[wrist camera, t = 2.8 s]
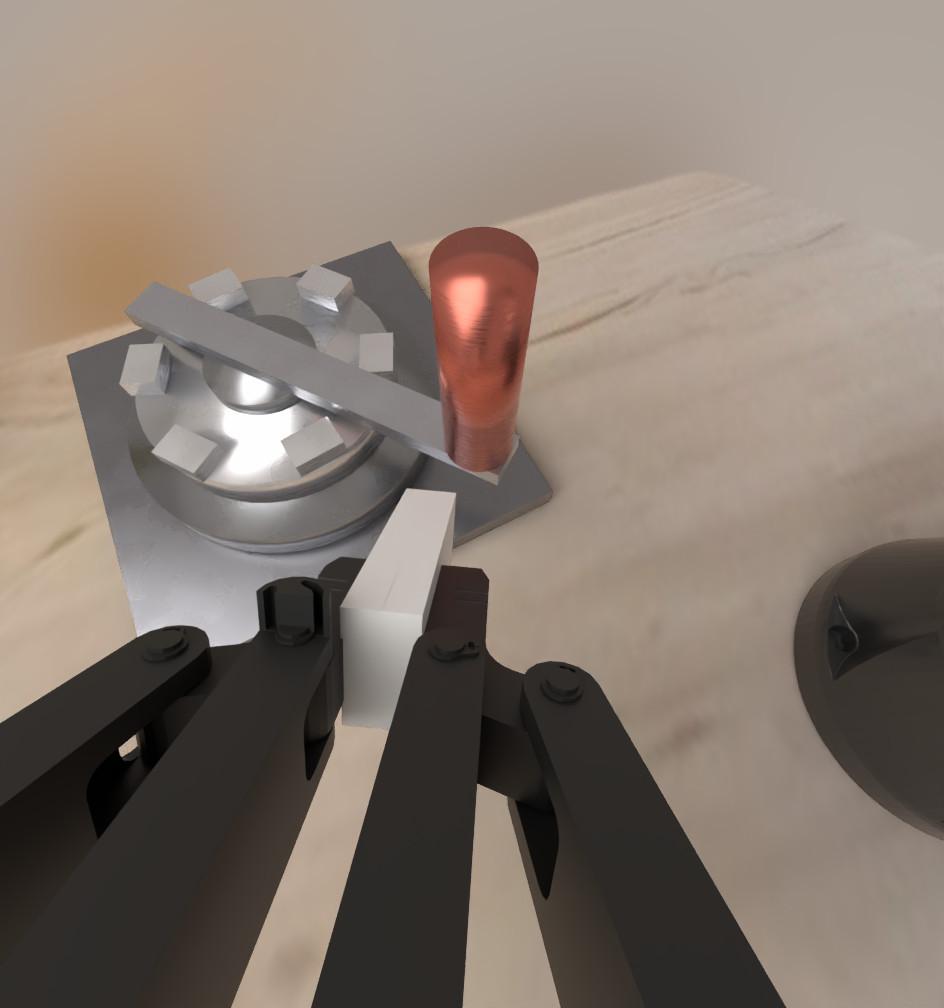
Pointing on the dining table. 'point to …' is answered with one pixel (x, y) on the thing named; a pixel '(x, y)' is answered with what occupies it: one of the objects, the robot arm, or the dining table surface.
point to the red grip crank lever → (330, 372)
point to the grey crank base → (280, 525)
